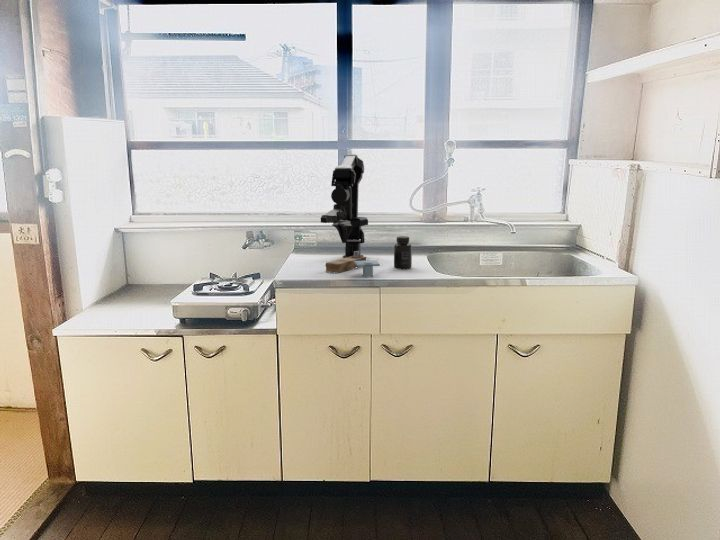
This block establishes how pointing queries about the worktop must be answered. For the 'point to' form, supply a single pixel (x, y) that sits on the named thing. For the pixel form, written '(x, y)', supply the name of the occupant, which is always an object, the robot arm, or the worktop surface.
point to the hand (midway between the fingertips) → (344, 242)
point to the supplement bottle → (402, 253)
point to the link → (343, 264)
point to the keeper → (367, 266)
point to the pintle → (356, 254)
